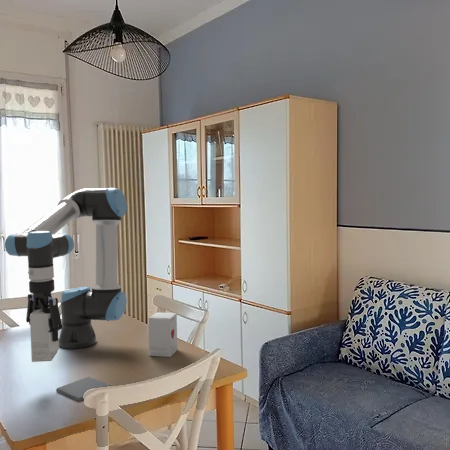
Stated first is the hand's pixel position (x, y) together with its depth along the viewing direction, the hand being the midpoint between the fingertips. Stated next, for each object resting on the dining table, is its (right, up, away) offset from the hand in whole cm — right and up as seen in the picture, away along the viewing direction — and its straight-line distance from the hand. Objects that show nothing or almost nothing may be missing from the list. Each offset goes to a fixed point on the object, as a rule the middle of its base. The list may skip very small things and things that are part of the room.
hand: (45, 347), depth 156 cm
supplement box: (+34, -11, +32) cm, 48 cm away
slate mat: (+13, -13, -2) cm, 19 cm away
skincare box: (0, -3, 0) cm, 4 cm away
